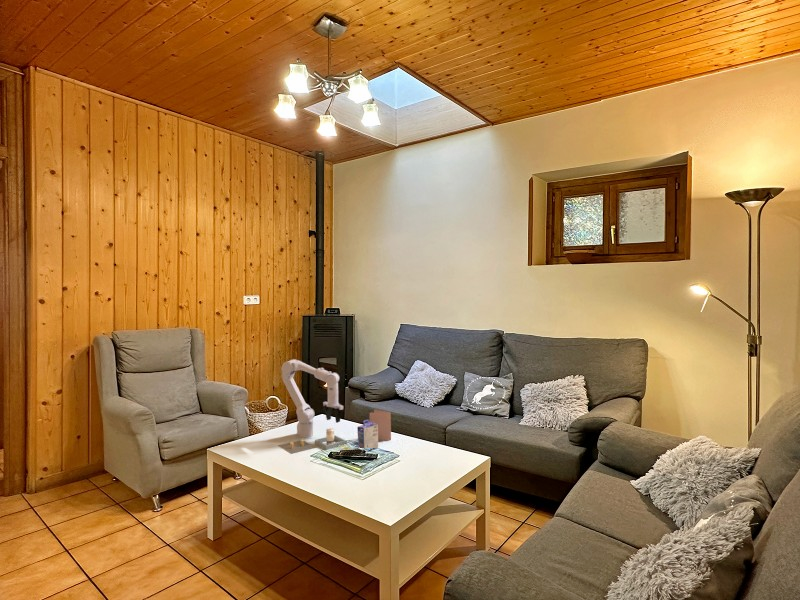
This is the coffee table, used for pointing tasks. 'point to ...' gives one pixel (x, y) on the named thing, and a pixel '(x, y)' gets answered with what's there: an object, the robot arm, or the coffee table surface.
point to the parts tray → (330, 446)
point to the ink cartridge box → (368, 435)
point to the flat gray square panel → (297, 446)
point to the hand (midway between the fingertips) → (333, 420)
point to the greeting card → (382, 423)
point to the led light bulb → (330, 436)
